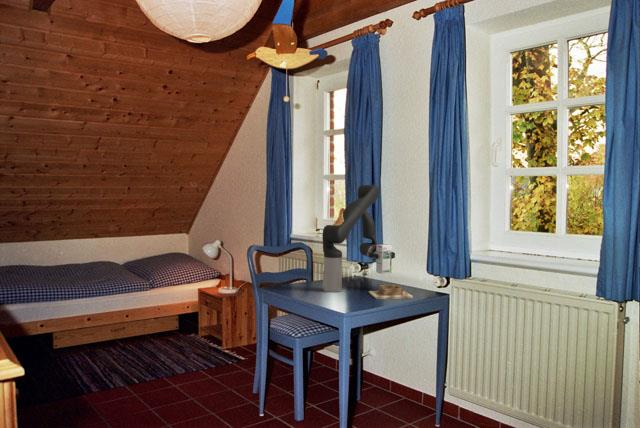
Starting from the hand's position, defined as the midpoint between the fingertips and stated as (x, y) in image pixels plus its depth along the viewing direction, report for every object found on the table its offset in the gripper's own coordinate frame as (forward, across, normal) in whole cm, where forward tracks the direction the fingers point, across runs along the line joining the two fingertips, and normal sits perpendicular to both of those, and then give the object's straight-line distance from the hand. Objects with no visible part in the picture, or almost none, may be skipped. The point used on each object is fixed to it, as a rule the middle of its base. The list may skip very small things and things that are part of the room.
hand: (385, 256), depth 274 cm
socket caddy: (+11, 0, +18) cm, 21 cm away
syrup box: (-2, 0, +9) cm, 9 cm away
